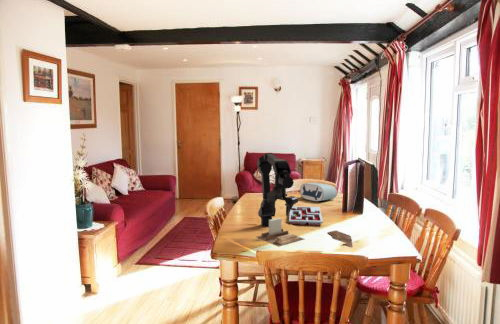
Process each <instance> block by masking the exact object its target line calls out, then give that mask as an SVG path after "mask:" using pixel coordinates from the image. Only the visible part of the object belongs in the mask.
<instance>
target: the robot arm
mask: <svg viewBox="0 0 500 324" xmlns="http://www.w3.org/2000/svg"><path fill="white" fill-rule="evenodd" d="M256 167H257V170H258V172H259V173H260V176H261V178H260V179H261V191H262V201H261V202H260V206H259V207H260V208H259V209H258V212H257V213H258V214H257V215H258V217H259V218H260V220H261V221H260V226H262V227H267V228H269V220H271V219H273V217H276V216H275V215H276V212H277V211H276V210H277V208H276V202H277V200H280V201H284V205H285V217H289V215H290V210H291V208H292V207H293V206H294V205H296V204H298V203H299V198H298V197H297V196H293V195H289V196H288V194H287V189H290V188H292V187H293V185H294V179H293V178H292V177H291V174H292V169H291V166H290V164H289V162H288V161H287V160H286V159H281V158H278V157H277V156H276V155H274V153H272V152H265V153H263V155H261V156H260V157H259V158H257V161H256ZM272 170H273V172H274V186H273V187H272V190H271V180H270V173H271V171H272Z"/></svg>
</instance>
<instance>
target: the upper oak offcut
mask: <svg viewBox="0 0 500 324" xmlns="http://www.w3.org/2000/svg"><path fill="white" fill-rule="evenodd" d="M294 238H297V234H294V233H290V234H288V235H284V236H280V237H277V240H279V241H281V242H283V241H287V240H291V239H294Z"/></svg>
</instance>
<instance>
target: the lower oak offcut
mask: <svg viewBox="0 0 500 324" xmlns="http://www.w3.org/2000/svg"><path fill="white" fill-rule="evenodd" d="M297 240H300V236H298V237H297V238H294V239H291V240H287V241H283V242H281V241H279V240H277V239H276V240H275V242H276V243H279V244H281V245H283V244H286V243H290V242H293V241H297ZM297 242H298V241H297ZM290 244H291V243H290ZM283 246H284V245H283Z"/></svg>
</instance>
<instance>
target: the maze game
mask: <svg viewBox="0 0 500 324" xmlns="http://www.w3.org/2000/svg"><path fill="white" fill-rule="evenodd" d="M288 223H290V225H296V224H302V226H303V225H305V226H306V225H308V226H322V225H321V224H323V223H324V220H323V216H322V213H321V207H320V206H296V205H295V206H294V205H293V207H292V208H291V210H290V212H289V214H288ZM307 223H308V224H307Z"/></svg>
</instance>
